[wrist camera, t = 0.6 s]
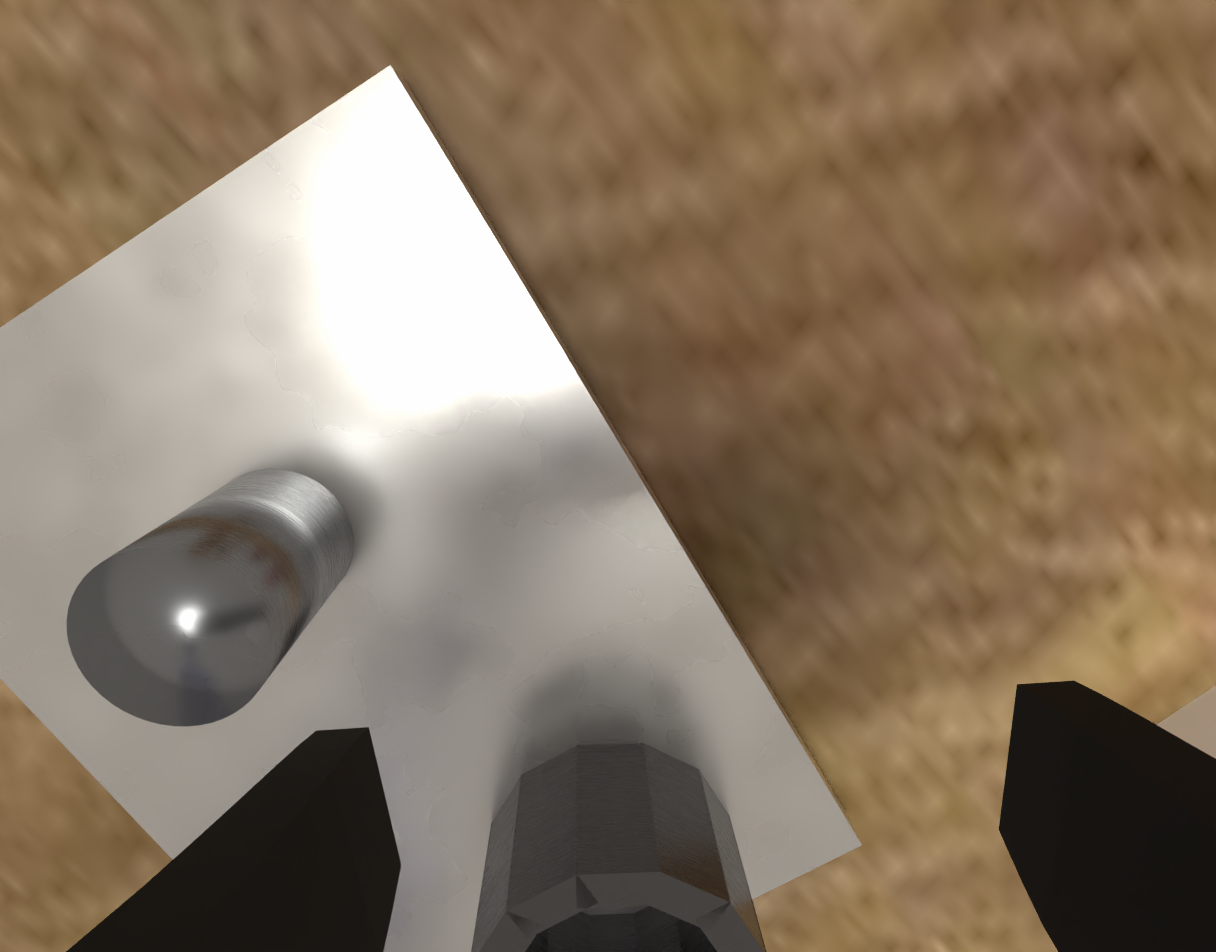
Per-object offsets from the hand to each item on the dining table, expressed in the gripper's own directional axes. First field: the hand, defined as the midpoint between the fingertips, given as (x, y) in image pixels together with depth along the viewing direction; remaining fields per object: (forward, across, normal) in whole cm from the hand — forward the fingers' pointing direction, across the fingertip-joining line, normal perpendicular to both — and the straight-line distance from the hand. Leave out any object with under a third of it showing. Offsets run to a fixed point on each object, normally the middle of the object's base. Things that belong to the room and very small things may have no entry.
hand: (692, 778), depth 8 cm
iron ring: (+8, +2, +9) cm, 12 cm away
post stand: (+9, +7, +4) cm, 12 cm away
